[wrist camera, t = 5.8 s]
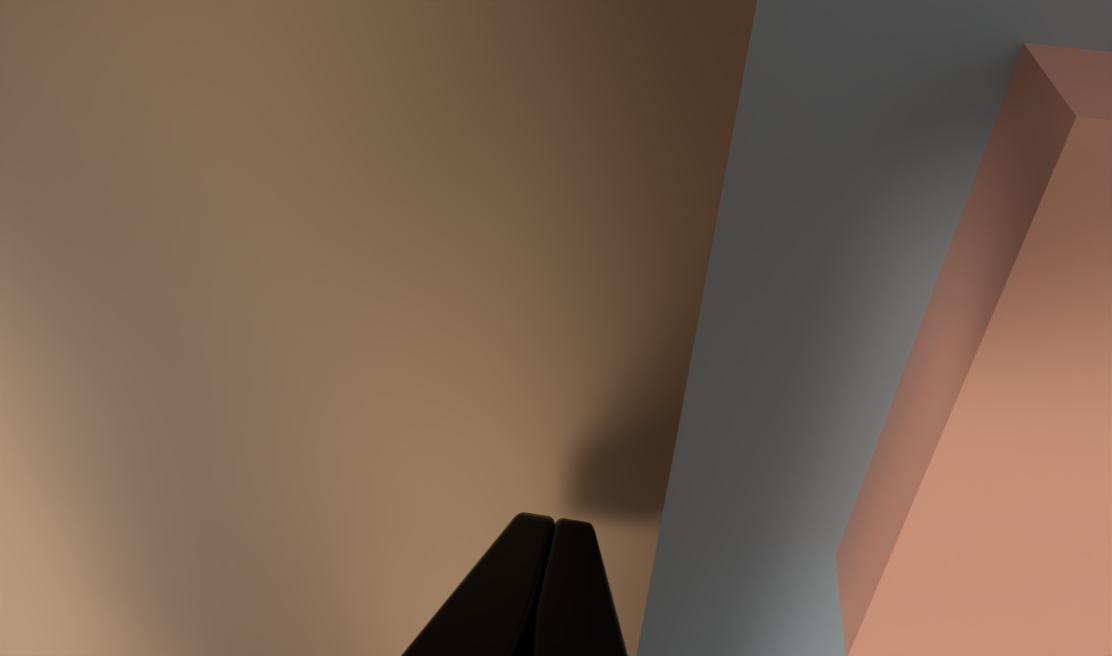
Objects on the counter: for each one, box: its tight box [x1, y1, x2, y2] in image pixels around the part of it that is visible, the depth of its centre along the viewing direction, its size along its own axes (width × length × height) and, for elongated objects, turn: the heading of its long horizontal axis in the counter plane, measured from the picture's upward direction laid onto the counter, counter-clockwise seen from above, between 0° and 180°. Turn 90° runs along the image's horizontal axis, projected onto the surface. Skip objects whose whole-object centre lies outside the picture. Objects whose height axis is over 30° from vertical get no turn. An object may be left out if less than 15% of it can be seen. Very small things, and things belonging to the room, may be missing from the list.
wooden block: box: [0, 0, 757, 656], centre depth 12 cm, size 12×22×4 cm, turn 177°
